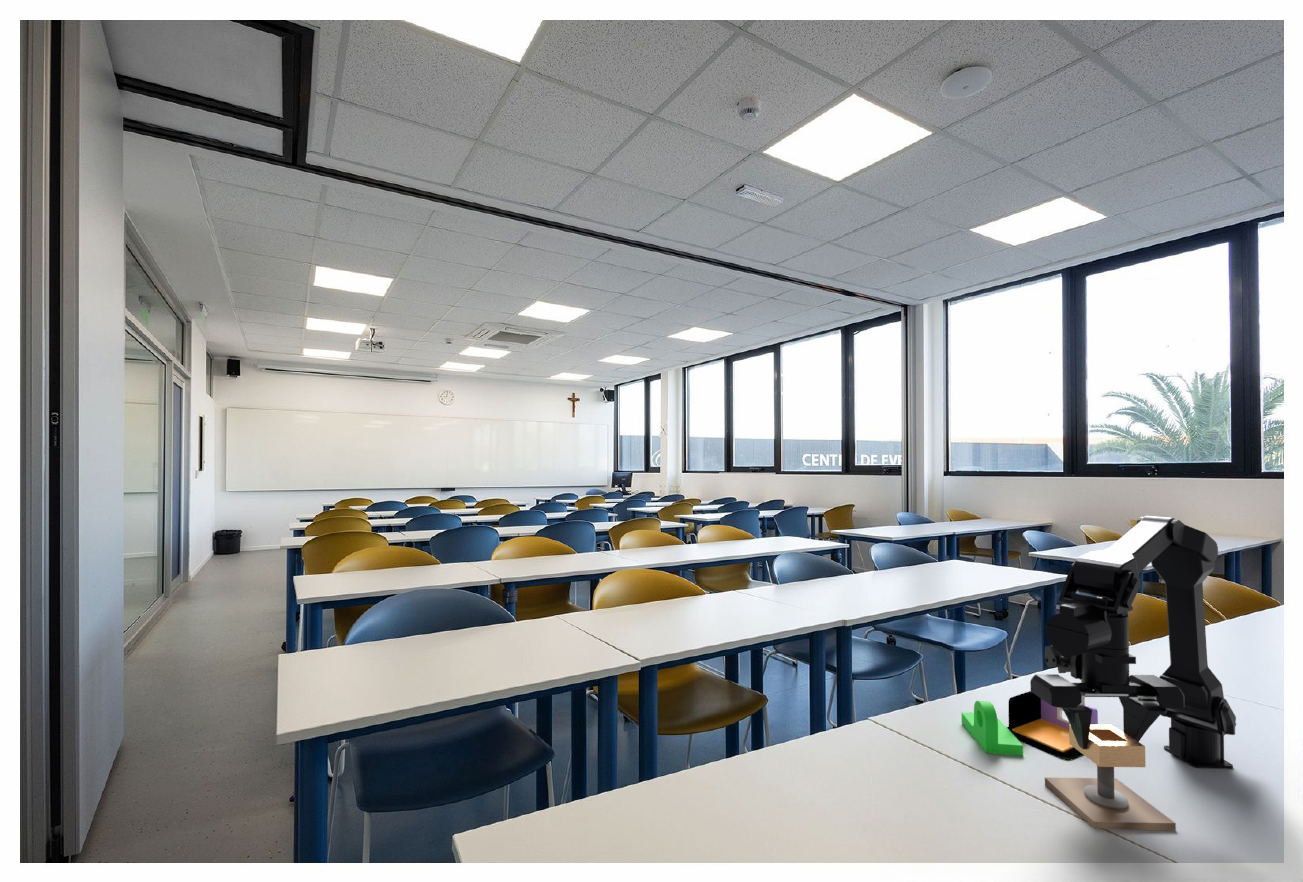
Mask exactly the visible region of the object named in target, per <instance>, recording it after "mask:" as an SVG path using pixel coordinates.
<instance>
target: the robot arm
mask: <svg viewBox="0 0 1303 882" xmlns="http://www.w3.org/2000/svg"><path fill="white" fill-rule="evenodd" d="M1218 554H1219V546H1218V543H1217V542H1216V540H1214V538H1212V537H1211V536H1210V535H1209V534H1208V533H1207V532H1205V531H1202V530H1199V529H1197V528H1194V527H1191V526H1189V525H1186V524H1185V523H1183V522H1182V521H1181V520H1179V519H1176V518H1175V517H1169V516H1168V517H1166V516H1158V515H1157V516H1155V515H1145V516H1140V517H1139V518H1138V519H1137V521H1136V523H1135V525H1134V526H1133V527H1132V528H1131V529H1129V530H1128V531H1127V532H1126V533H1125V534H1124V535H1123V536H1121V537H1120V538H1119V539H1118V540H1116V541H1115V542H1114V543H1113V544H1112V545H1111V546H1109V547H1108V548H1105V549H1102V550H1092V551H1089V552H1087V553H1085V554H1081V555H1080V556H1078V557H1077V558H1076V559H1075V560H1074V562H1073V563H1072V564H1071V565H1070V567H1069V571H1068V573H1067V575H1066V577H1065V580H1064V583H1063V586H1062V589H1061V591H1060V595H1059V597H1058V602H1061V603H1063V604H1060V605H1059V613H1056V614H1054V615H1052V616H1050V617H1049V618H1048V620H1047V621H1046V623H1045V625H1044V634H1045V637H1046V639H1047V642H1049V646H1045V645H1044V653H1043V654H1044V661H1045V664H1046V666H1047V667H1048V668H1057V672H1058V674H1051V673H1049V674H1048V673H1047V674H1044V673H1042V674H1034V675H1033V676H1032V677H1031V679H1030V691H1031V692H1032V693H1034V694H1035V695H1037V696H1038V697H1040V698H1041V699H1042V700H1044V701H1045V702H1047V703H1048V704H1050V705H1051V706H1054V707H1058V708H1062V709H1063V711H1062V712H1064V714H1065V716H1066V719H1068V721H1069V723H1070V725H1071V728H1072V730H1073V733H1074V735H1075V738H1076V740H1077V743H1078V745H1079V747H1081V748H1082V749H1086V748H1087V745H1088V741H1089V732H1090V724H1091V716H1092V710H1091V709H1089V708H1088V707H1086V706H1085V705H1086V702H1085V698H1118V700H1119V702H1120V704H1121V705H1122V709H1123V712H1122V714H1123V715H1122V717H1123V718H1122V722H1123V723H1122V724H1123V725H1122V727H1123V732H1124V733H1125V734H1127V735H1128V736H1130V737H1132V738H1133V739H1135V740H1136V741H1138V742H1139V743H1140V741H1141V739H1142V738H1143V736H1144V735H1145V733H1146V732H1147V731H1148V729H1150V727H1152V725H1153V724H1154V723H1155V722H1156V720H1157V719H1158V718H1159V717H1160V716H1161V717H1166V718H1169V719H1170V727H1169V728H1168V745H1163V749H1164V750H1165V751H1167V753H1170V754H1171V755H1173V756H1175V757H1176V758H1178V759H1180V760H1181V761H1183V762H1185V763H1186V764H1187V765H1189V766H1191V767H1192V768H1197V769H1199V768H1200V769H1205V768H1206V769H1233V768H1234V765H1233V764H1232V763H1230V762H1229V761H1227V760H1225V735H1230V736H1235V735H1236V726H1237V723H1236V721H1237V716H1236V715H1235V713H1234V711H1233V709H1232V707H1231V705H1230V704H1229V702H1228V700H1227V699H1226V698H1225V696H1224V689H1223V688H1224V687H1223V684H1222V683H1221V681H1220V680H1219V679H1218V678H1217V676H1216V675H1215V674H1214V673H1213V671H1212V670H1211V668H1210V667H1209V662H1208V650H1207V648H1208V647H1207V634H1206V618H1205V617H1206V616H1205V615H1206V614H1205V602H1204V601H1205V600H1204V586H1203V583H1204V581H1206V579H1207V578H1208V576H1209V575H1210V574H1211V573H1212V572H1213V570H1214V569H1215V567H1216V566H1215V564H1216V560H1217V559H1218ZM1150 564H1151V567H1152V569H1154V571H1156V573H1157V574H1158V576H1160V578H1161V579H1162V581H1164V585H1165V587H1164V588H1165V597H1166V601H1165V602H1166V615H1167V617H1166V618H1167V629H1168V630H1167V631H1168V643H1169V644H1168V645H1169V660H1170V665H1169V666H1168V667H1167V668H1166V670H1165V671H1164V672H1162V674H1161V675H1159V676H1156V675H1154V674H1130V665H1136V664H1137V657H1136V656H1135V655H1133V654H1130V642H1129V641H1130V640H1129V639H1130V638H1129V633H1130V630H1129V628H1130V627H1129V612H1133V610H1134V607H1133V606H1132V605H1133V603H1134V600H1135V598H1136V596H1137V594H1138V591H1139V590H1140V588H1141V580H1140V576H1139V575H1140V573H1141V572H1142V571H1143V570H1144V569H1146V567H1148V566H1149V565H1150ZM1077 592H1078V593H1077ZM1066 673H1070V677H1073V679H1075V680H1077V679H1078V680H1080V682H1071V681H1069V680H1068V679H1066V678H1064V677H1063V676H1061V675H1059V674H1066Z"/></svg>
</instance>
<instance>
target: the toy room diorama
mask: <svg viewBox="0 0 1303 882" xmlns="http://www.w3.org/2000/svg"><path fill="white" fill-rule="evenodd" d="M1085 706H1086V707H1088V708H1089V709H1091V710H1092V716H1091V724H1090V725H1099V717H1098V712H1099V711H1098V710H1097V708H1096V707H1092V706H1090V705H1088V704H1085ZM1063 712H1064V711H1063V709H1062V708H1058V707H1054V706H1051V705H1050V704H1048V703H1047V702H1045V701H1044V700H1042V699H1041V698H1040V697H1038V696H1037V695H1035V694H1034V693H1032V692H1031V690H1029V691H1025V692H1022V693H1019V694H1017V695H1014V696H1011V697H1009V698H1008V726H1006V727H1007V728H1008V730H1009V731H1010V732H1011V733H1012V734H1013V735H1014V736H1015V737H1016V738H1017V739H1018V741H1019V742H1020V743H1024V744H1027V745H1029V746H1031V747H1033V748H1035V749H1037V750H1040V751H1042V752H1045V753H1047V754H1049V755H1051V756H1053V755H1054V757H1055V758H1058V757H1059V758H1058V759H1061V760H1063V759H1065V760H1064V761H1072V760H1071V759H1073V760H1075V759H1077V758H1080V757H1082V756H1084V755H1083V754H1082V753H1081V752H1079V751H1078V750H1077V749H1075V748H1074V747H1073V746H1071V745H1070V741H1069V725H1070V723H1069V721H1068V718H1067V717H1064V716H1063Z"/></svg>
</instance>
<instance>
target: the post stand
mask: <svg viewBox="0 0 1303 882" xmlns="http://www.w3.org/2000/svg"><path fill="white" fill-rule="evenodd" d="M1096 772H1097V773H1096V777H1044V786H1045V787H1046V788H1047V789H1049V791H1051V792H1052V793H1053V794H1054V795H1055V796H1057V798H1059V799H1060V800H1061V801H1062V802H1063V803H1065V805H1067V807H1070V809H1072V810H1073V811H1074V812H1075V813H1076V814H1077V815H1078V816H1080V817H1081V819H1083V820H1084V822H1086V823H1088V825H1090V826H1091V827H1092V828H1093V829H1098V830H1099V829H1102V830H1103V829H1104V830H1139V831H1140V830H1144V831H1145V830H1147V831H1149V830H1150V831H1152V830H1153V831H1176V830H1177V825H1176V822H1174V820H1172V819H1170V818H1169V817H1168V816H1167V815H1166V814H1164V812H1161V811H1160V810H1159V809H1157V808H1156V807H1155V806H1154V805H1152V804H1151V803H1150V802H1149V801H1147V800H1146V799H1144V798H1143V797H1142V796H1141V795H1139V794H1138V793H1136V792H1135V791H1134V790H1132V788H1130V787H1128V786H1127V785H1126V784H1124V782H1122V781H1120V780H1119V779H1117V778H1115V767H1099V766H1098V765H1096Z"/></svg>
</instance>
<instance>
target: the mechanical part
mask: <svg viewBox="0 0 1303 882" xmlns="http://www.w3.org/2000/svg"><path fill="white" fill-rule="evenodd" d="M961 724H962V725H963V727H965V728H966V729H965V730H966V731H968V733H969V734H970V735H971V736H972V738H973V739H974V740H975V741H976V742H977V743H978V745H979V746H980V747H981V748H982V750H983V751H984V752H985V754H994V755H1008V756H1019V755H1021V756H1022V757H1023V756H1024V745H1023V744H1022V742H1021V741H1019V740H1018V739H1017V738H1016V737H1015V736H1014V735H1013V734H1012V733H1011V732H1010V731H1009V730H1008V728H1007V727H1008V726H1006V725H1005V724H1004V723H1003V722H1002V721H1001V720H1000V719H999V718H998V716H997V711H996V708H995V705H994V704H993V703H992V702H991V701H987V700H985V701H984V700H976V701H975V702H974V705H973V712H964V711H963V712H961Z"/></svg>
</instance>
